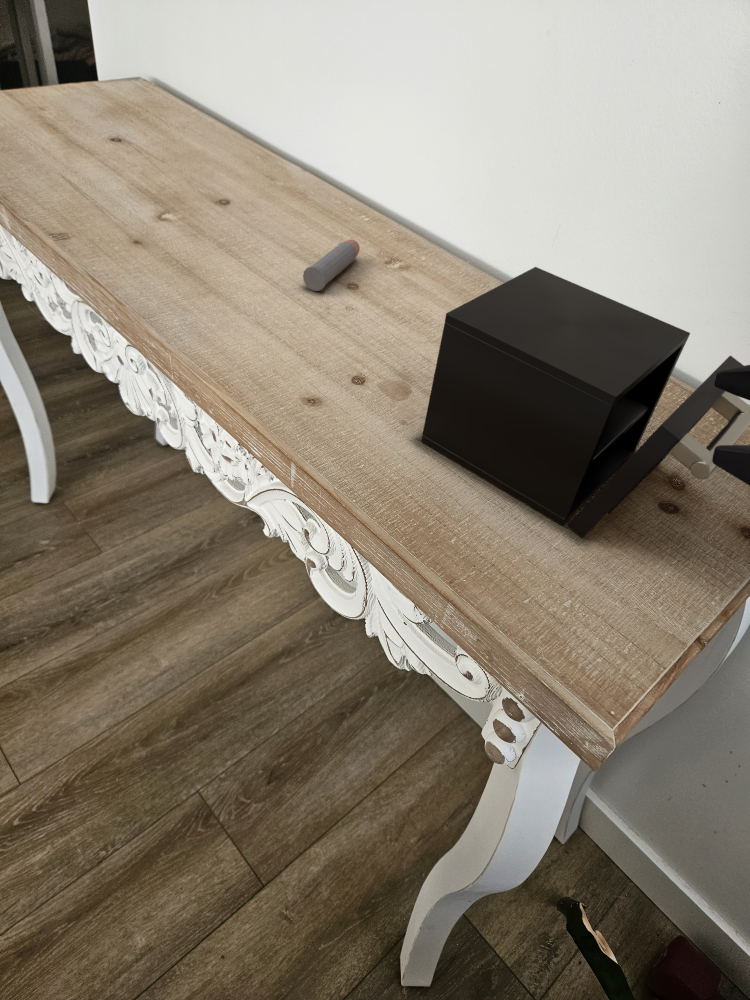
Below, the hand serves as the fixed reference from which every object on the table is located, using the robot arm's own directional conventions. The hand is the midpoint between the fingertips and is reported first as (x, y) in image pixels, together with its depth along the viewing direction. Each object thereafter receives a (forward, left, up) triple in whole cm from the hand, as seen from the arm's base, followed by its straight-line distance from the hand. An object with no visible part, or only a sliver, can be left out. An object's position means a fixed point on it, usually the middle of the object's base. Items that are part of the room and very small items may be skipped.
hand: (714, 413), depth 44 cm
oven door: (0, -9, -16) cm, 18 cm away
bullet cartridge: (+36, -39, -16) cm, 56 cm away
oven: (+9, -13, -16) cm, 22 cm away
